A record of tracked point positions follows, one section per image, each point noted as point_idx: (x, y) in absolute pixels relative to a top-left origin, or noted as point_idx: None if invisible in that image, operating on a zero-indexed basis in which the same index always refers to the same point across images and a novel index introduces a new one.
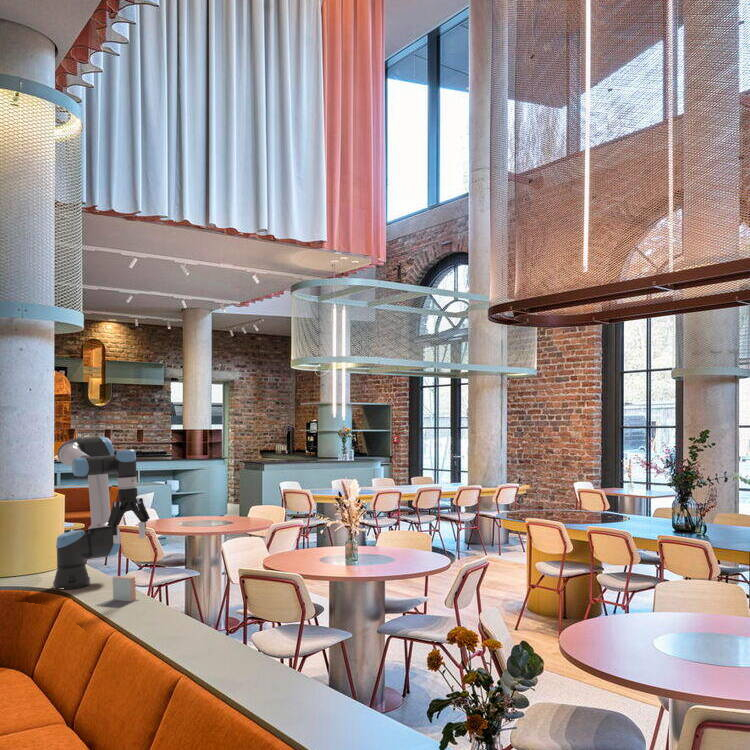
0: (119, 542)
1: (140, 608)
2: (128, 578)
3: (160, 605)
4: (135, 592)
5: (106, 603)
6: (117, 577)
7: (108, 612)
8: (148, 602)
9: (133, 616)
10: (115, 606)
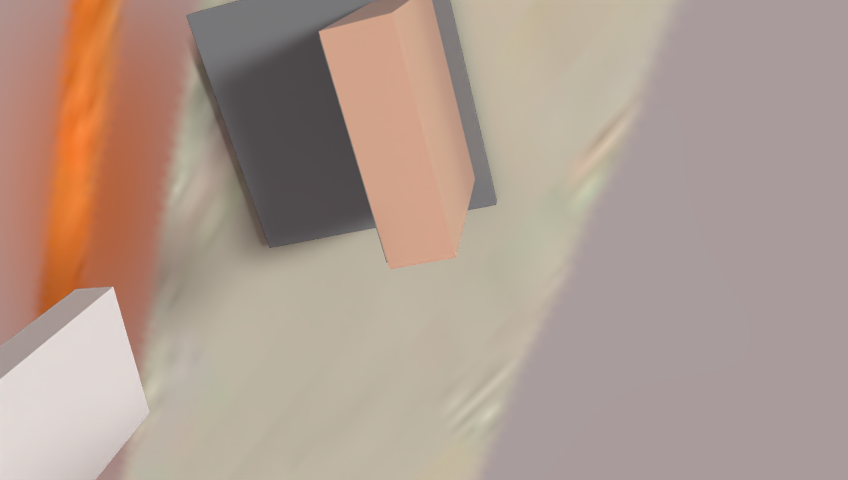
0: (134, 422)
1: (379, 339)
2: (385, 238)
3: (500, 400)
4: (469, 200)
5: (278, 46)
6: (350, 85)
7: (193, 225)
8: (517, 269)
9: (243, 432)
10: (271, 193)
